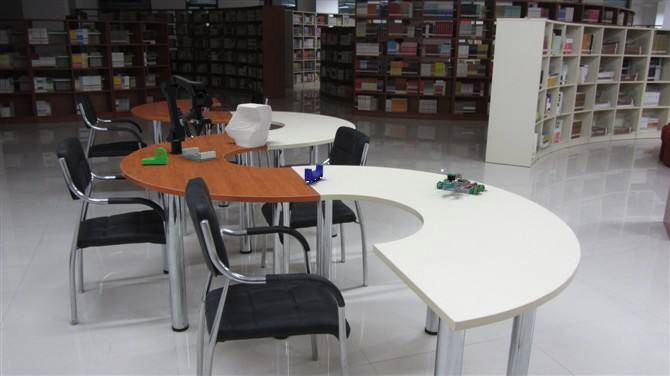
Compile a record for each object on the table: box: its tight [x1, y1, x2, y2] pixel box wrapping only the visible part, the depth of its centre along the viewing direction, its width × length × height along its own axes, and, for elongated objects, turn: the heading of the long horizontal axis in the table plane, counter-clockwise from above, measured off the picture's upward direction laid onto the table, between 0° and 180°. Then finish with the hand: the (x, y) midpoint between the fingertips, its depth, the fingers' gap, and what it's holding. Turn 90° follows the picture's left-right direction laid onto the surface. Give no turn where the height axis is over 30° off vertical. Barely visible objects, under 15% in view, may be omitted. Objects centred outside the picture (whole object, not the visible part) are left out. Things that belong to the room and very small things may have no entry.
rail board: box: [179, 146, 219, 163], centre depth 295 cm, size 18×12×4 cm, turn 47°
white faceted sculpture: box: [224, 103, 273, 149], centre depth 330 cm, size 21×27×26 cm
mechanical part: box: [141, 147, 170, 165], centre depth 280 cm, size 12×6×8 cm, turn 95°
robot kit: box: [436, 172, 486, 196], centre depth 229 cm, size 19×25×9 cm
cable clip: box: [303, 164, 324, 183], centre depth 251 cm, size 12×4×6 cm, turn 153°
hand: (198, 136), depth 292 cm, fingers closed
